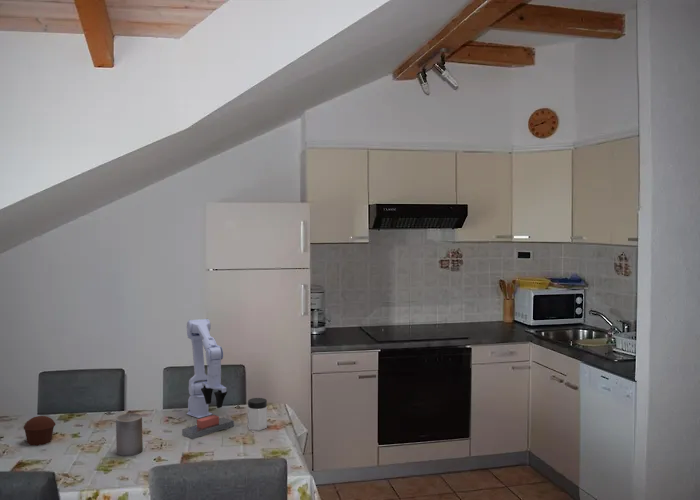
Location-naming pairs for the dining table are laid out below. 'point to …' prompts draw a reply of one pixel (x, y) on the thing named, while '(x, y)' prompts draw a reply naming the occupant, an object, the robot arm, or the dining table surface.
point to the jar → (257, 414)
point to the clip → (208, 421)
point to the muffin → (39, 430)
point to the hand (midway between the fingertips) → (213, 405)
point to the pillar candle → (129, 434)
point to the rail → (207, 428)
